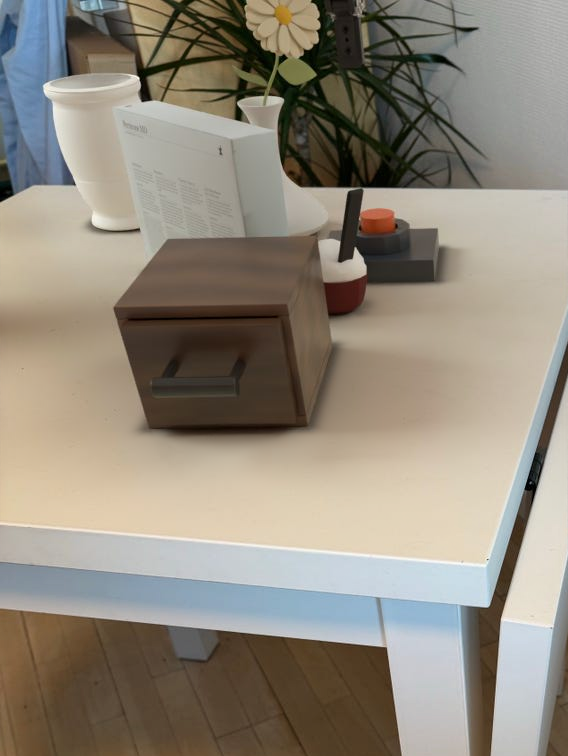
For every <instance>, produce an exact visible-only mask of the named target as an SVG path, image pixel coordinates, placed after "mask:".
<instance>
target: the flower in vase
mask: <svg viewBox="0 0 568 756" xmlns="http://www.w3.org/2000/svg"><path fill="white" fill-rule="evenodd" d="M245 1H246V5H245V6H244V11H245V19H246V22H245V25H246V27H247V29H248V30H249V31H252V34H253V37H254V39H256V40H257V41H260V46H261V48H262V49H263V50H264V51H269V52H270V53H274V54H275V61H274V65H273V70H272V72H271V76H270V78H269V81H268V83H267V82H266V80H265V79H264V78H263V77H262V76H259V75H257V74H253V73H249V72H246V71H244V70H242V69H240V68H238V67H237V66H235V65H234V64H231V66H232V69H233V71H234V73H235V74H236V75H237V76H238V77H239V78H241V79H243V80H245V81H247V82H250V83H254V84H257V85H260V86H264V87H266V89H265V92H264V95H260V96H257V95H256V96H252V97H245V98H242V99H240V100H238V101H237V102H236V104H237V106H238V108H240V110H241V111H242V112H243V113H244V115H245V116H246V118H247V120H248V122H249V124H252V125H255V126H259V127H262V128H267V129H271V130H275V131H276V138H277V146H278V153H279V161H280V168H281V176H282V183H283V191H284V198H285V206H286V213H287V221H288V229H289V236H312V235H314V234H316V233H317V232H319V231H321V230H322V229H323V228H325V226H326V225H327V223H328V221H329V219H330V216H329V212H328V211H327V208H326V207H325V205H323V204H322V203H321V202H320V201H319V200H318V199H317V198H316V197H315V196H314V195H312V194H311V193H309V192H308V191H306V190H305V189H303V188H302V187H300V186H299V185H298V184H296V183H295V182H294V181H292V179H290V177H288V176H287V174H286V172H285V170H284V168H283V165H282V162H281V156H280V149H279V139H278V138H279V136H278V126H279V125H278V123H279V117H280V113H281V110H282V107H283V105H284V103H285V99H284V98H283V97H282V96H281V97H280V96H276V95H275V96H273V95H269V93H270V90H271V87H272V85H273V82H274V79H275V77H276V74H277V72H278V73H279V75H280V76H281V77H282V78H283V79H284V80H285V81H286V82H287V83H288V84H291V85H293V86H299V85H302V84H304V83H306V82H309V81H311V80H312V79H314V78H315V77H317V73H316V71H315V70H313V68H312V67H311V66H310V65H309V64H307V63H306V62H305V61H303V60H302V59H300V57H302V56H304V54H305V50H306V51H310V50H312V49H313V47H314V45H317V44H318V43H319V41H320V38H319V33H318V32H317V31H318V30H320V29H321V22H320V20H318V19H319V18H320V11H319V10H318V6H317V4H315V3H313V2H312V0H245ZM283 55H285V57H287V59H285V60H284V61H283V62H282V63H280V64H279V60H280V57H282V56H283Z"/></svg>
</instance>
